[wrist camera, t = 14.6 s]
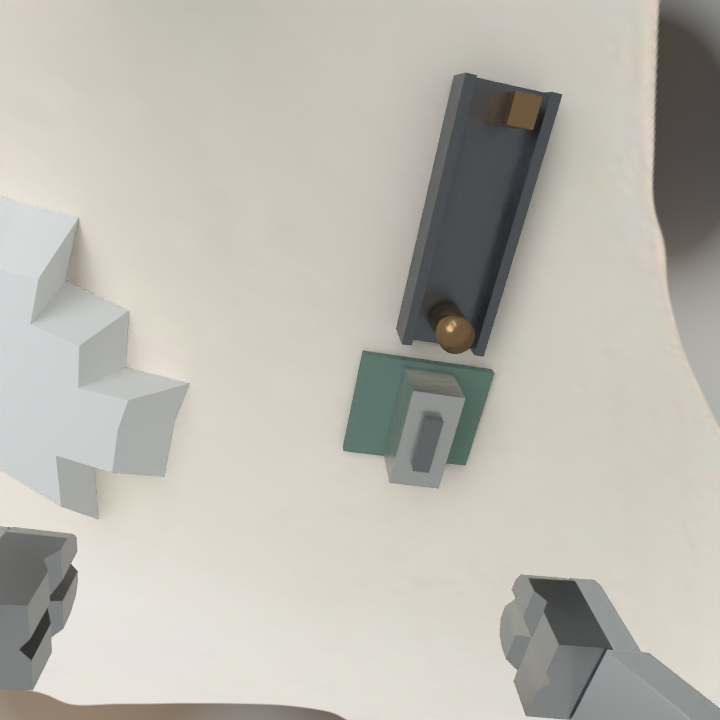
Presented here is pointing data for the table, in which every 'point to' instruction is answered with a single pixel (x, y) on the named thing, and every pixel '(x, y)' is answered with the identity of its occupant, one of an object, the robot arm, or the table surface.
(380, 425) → the rubber mat
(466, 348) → the dark grey channel holder
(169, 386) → the white jagged cross block
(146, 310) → the table surface
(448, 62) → the table surface
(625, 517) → the table surface
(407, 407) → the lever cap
